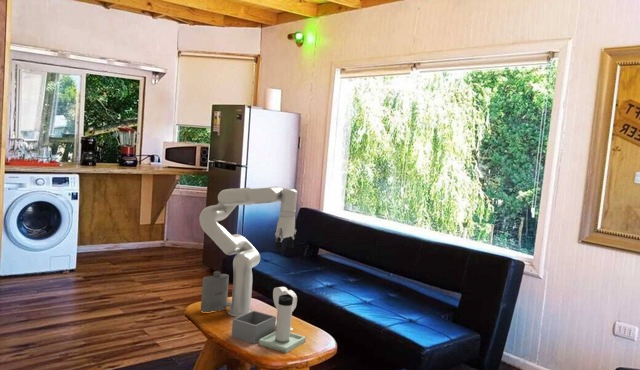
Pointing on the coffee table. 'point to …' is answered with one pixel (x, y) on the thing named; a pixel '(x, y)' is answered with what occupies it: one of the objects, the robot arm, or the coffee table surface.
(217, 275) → the flask
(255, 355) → the coffee table surface
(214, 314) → the coffee table surface
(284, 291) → the heart sculpture
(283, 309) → the travel mug
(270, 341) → the tray
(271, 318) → the deep bin
